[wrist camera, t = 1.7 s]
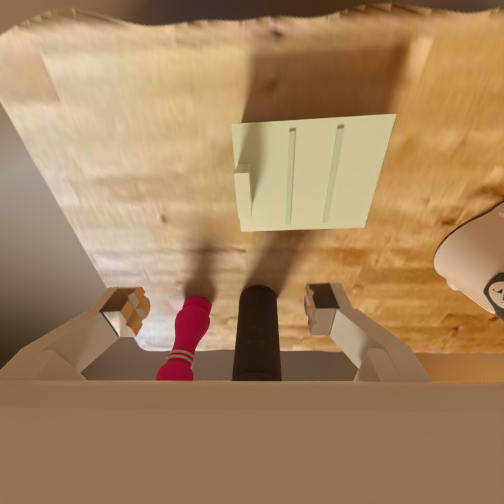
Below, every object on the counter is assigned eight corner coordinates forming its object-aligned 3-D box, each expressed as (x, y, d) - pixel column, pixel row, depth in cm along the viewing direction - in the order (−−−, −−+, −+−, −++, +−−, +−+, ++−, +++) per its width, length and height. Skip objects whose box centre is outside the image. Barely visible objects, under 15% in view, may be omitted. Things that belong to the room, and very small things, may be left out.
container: (233, 306, 48) (219, 409, 31) (245, 279, 43) (237, 384, 26) (268, 315, 49) (272, 418, 33) (283, 290, 44) (298, 396, 28)
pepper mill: (205, 291, 45) (174, 395, 29) (218, 312, 49) (197, 414, 32) (176, 297, 47) (131, 400, 30) (191, 317, 50) (158, 417, 34)
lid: (387, 113, 22) (425, 114, 17) (358, 221, 30) (379, 244, 25) (232, 123, 23) (225, 126, 18) (242, 225, 31) (238, 248, 26)
